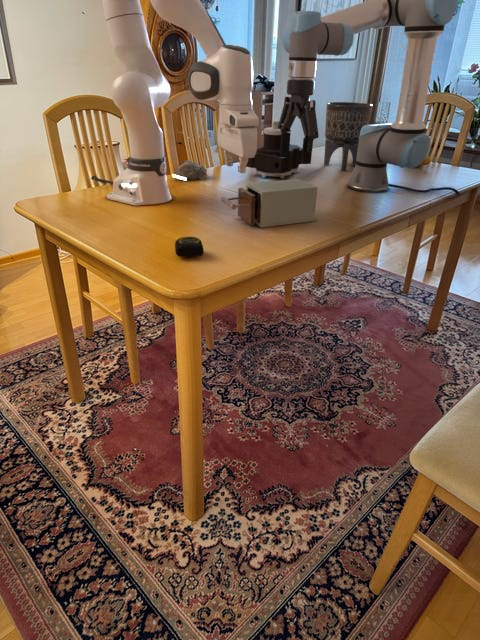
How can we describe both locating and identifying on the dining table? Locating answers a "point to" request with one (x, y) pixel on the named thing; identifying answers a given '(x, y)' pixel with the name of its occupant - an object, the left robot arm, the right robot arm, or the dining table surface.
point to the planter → (345, 128)
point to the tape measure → (189, 247)
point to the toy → (424, 162)
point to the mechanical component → (275, 155)
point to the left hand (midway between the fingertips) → (235, 169)
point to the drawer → (246, 205)
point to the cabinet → (285, 202)
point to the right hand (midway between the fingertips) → (294, 159)
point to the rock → (191, 171)
